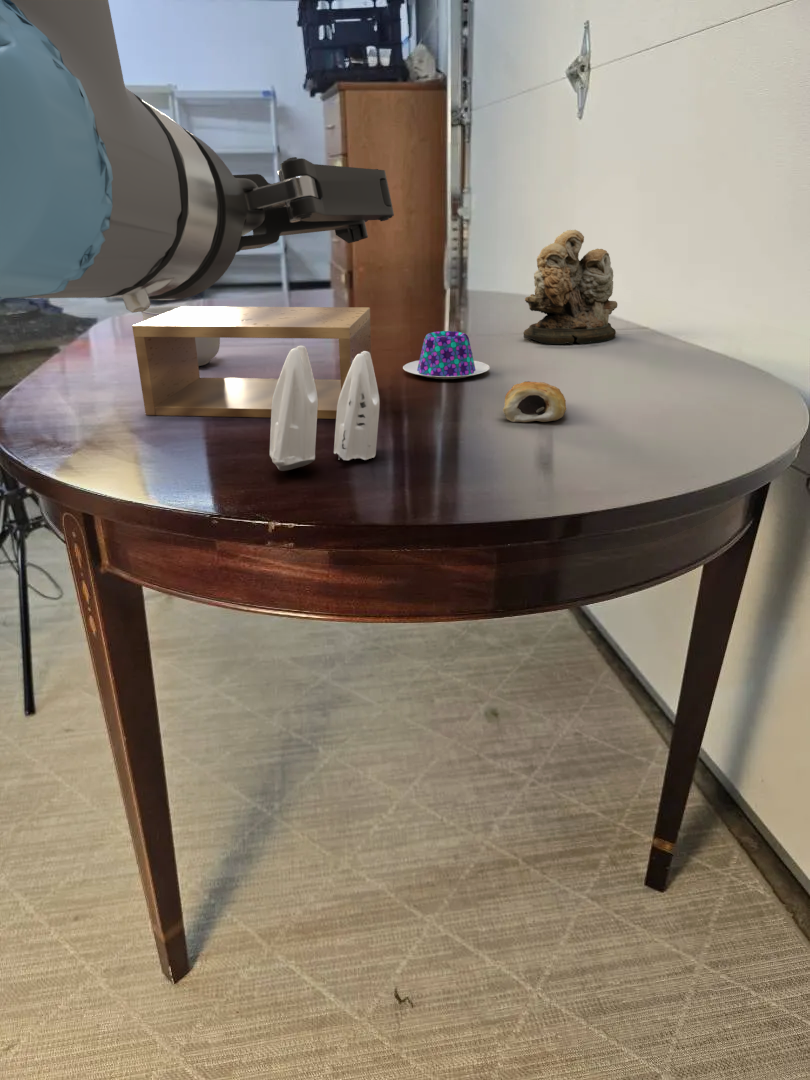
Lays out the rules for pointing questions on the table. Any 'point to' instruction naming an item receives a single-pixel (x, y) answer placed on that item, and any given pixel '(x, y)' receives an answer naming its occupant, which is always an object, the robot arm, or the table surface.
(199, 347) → the teacup
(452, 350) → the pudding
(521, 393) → the pastry
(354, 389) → the shaker set
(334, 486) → the table surface
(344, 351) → the shelf
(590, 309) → the owl figurine
